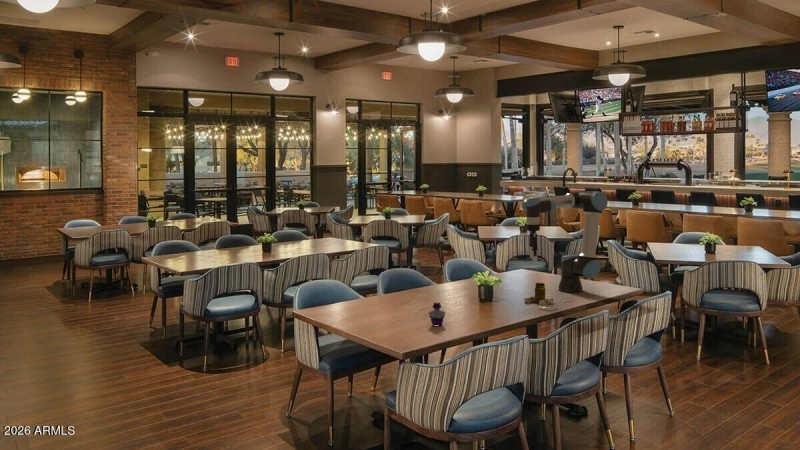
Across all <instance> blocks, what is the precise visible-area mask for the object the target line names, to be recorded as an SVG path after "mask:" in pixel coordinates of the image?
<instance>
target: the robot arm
mask: <svg viewBox="0 0 800 450" xmlns="http://www.w3.org/2000/svg"><path fill="white" fill-rule="evenodd" d="M607 207H608V197H607V195H606V194H605V192H602V191H598V190H594V191H593V190H589V191H588V190H579V191H575V192H569V193H568V192H567V193H566V194H565V195H555V196H548V197H541V198H540V197H527V198H525V199H524V200H522V202H521V208H522V210H523V211H525V212H526V218H525V220H526V223H527V224H526V231H528V232H529V244H528V245H529V258H530V259H532V261H531V262H535V263H536V262H538V249H539V248H538V233H537V232H538V231H540V228H541V227H540V226H541V225H540V223H541V217H540V216H541V215H540V214H547V213H553V212H555V211H556V209H561V208H563V209H564V208H567V209H580V210H582V213H583V214H584V222H583V223H584V224H583V231H582V233H583V234H582V243H581V251H580V253H579V254H567V255H563V256H562V257H561V261H560V268H561V269H560V271H561V273H560V277H561V278H560V281H559V284H558V291H559V292H564V293H581V292H583V290H584V289H583V284H582V281H581V277H582V278H585V279H594V278H596V277H597V276H598V275H599V274H600V271H601V269H602V268H601V267H602V266H601V263H600V261H598V256H597V255H596V252H597V241H598V235H599V234H598V233H599V231H598V230H599V223H600V216H601V215H602V214H603V211H605V210H606V208H607Z"/></svg>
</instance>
